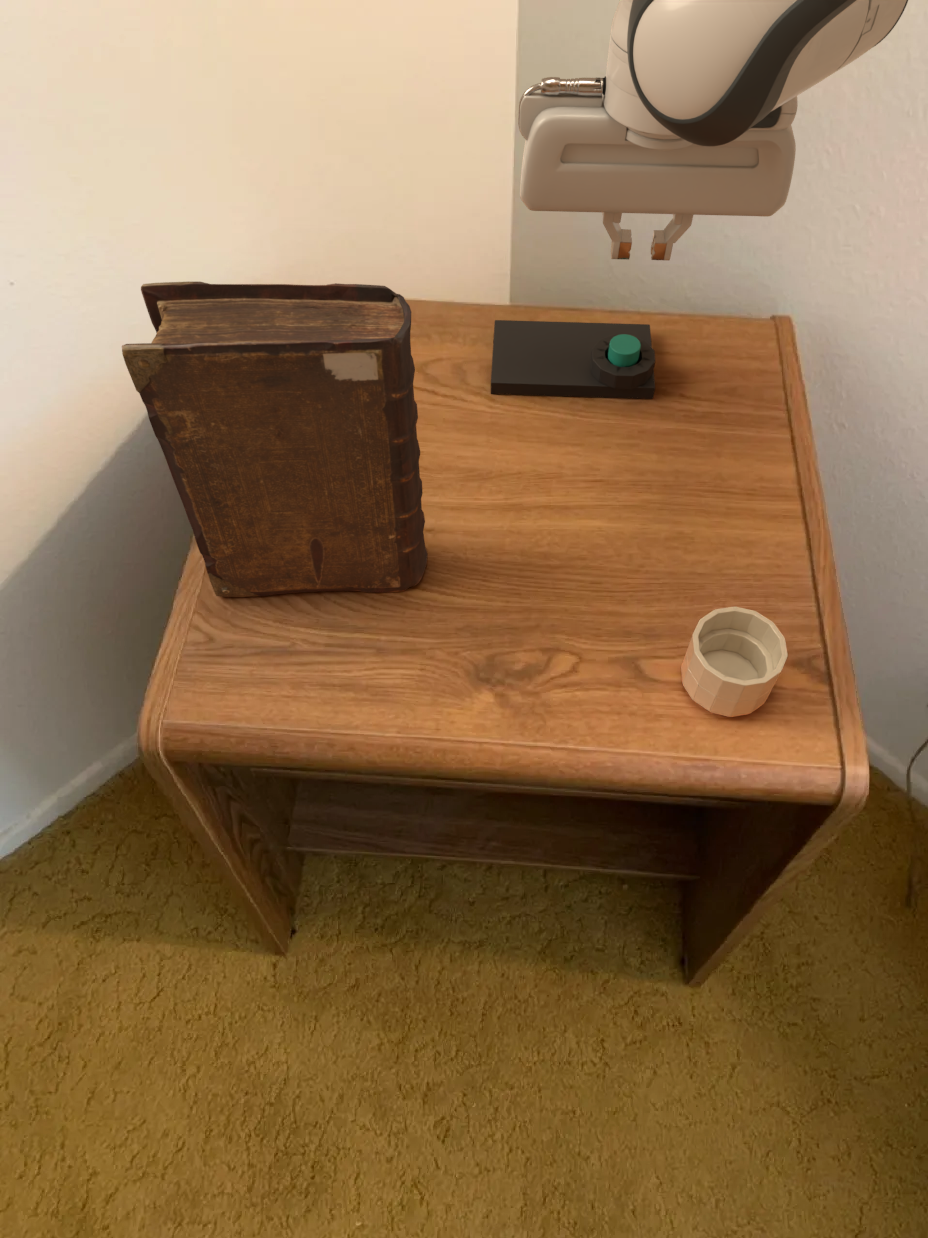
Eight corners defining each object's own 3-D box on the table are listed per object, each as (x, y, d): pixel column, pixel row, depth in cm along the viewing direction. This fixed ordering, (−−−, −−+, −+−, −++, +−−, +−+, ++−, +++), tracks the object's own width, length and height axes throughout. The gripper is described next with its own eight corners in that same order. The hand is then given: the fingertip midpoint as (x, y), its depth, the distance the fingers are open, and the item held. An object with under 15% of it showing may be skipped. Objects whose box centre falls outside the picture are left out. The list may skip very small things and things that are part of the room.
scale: (647, 335, 90) (652, 310, 88) (653, 401, 85) (658, 376, 83) (494, 331, 91) (494, 305, 88) (490, 396, 86) (490, 371, 83)
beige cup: (762, 645, 70) (780, 608, 66) (773, 722, 66) (793, 687, 62) (677, 642, 70) (689, 604, 66) (683, 718, 66) (697, 683, 62)
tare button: (637, 347, 85) (640, 334, 84) (639, 368, 84) (641, 354, 82) (607, 346, 85) (609, 333, 84) (608, 367, 84) (610, 353, 83)
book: (432, 544, 76) (415, 281, 55) (422, 615, 72) (400, 360, 51) (232, 532, 77) (142, 269, 56) (211, 601, 73) (107, 346, 52)
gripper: (518, 99, 63) (512, 275, 75) (822, 105, 62) (768, 282, 74) (520, 55, 67) (514, 229, 78) (807, 60, 66) (758, 235, 77)
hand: (639, 255), depth 76 cm, fingers closed
